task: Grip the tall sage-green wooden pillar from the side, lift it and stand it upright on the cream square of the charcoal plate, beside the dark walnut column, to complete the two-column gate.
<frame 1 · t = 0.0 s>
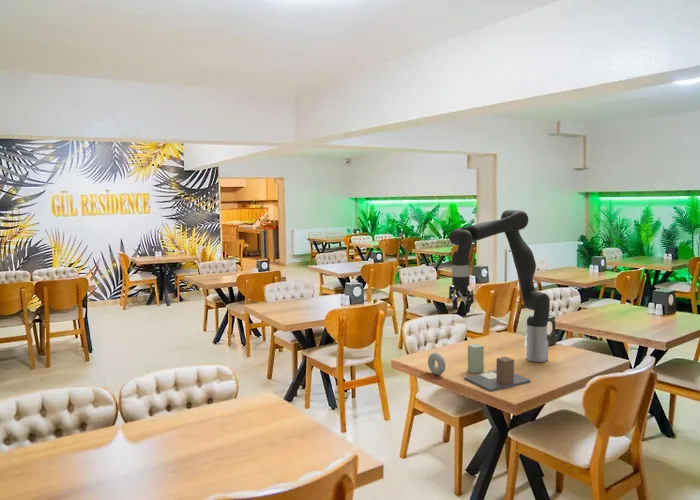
hand: (460, 311, 237), 29 cm above the table, tool pointing down, fingers open, 8 cm apart
green pillar: (475, 371, 244), on the table
build plate: (497, 380, 231), on the table
donut: (436, 374, 241), on the table
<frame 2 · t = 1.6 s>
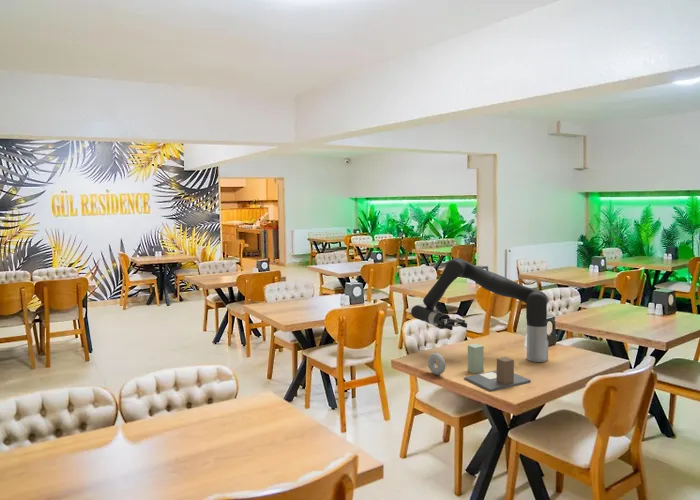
hand: (459, 326, 253), 18 cm above the table, tool horizontal, fingers open, 8 cm apart
nothing on the table moved.
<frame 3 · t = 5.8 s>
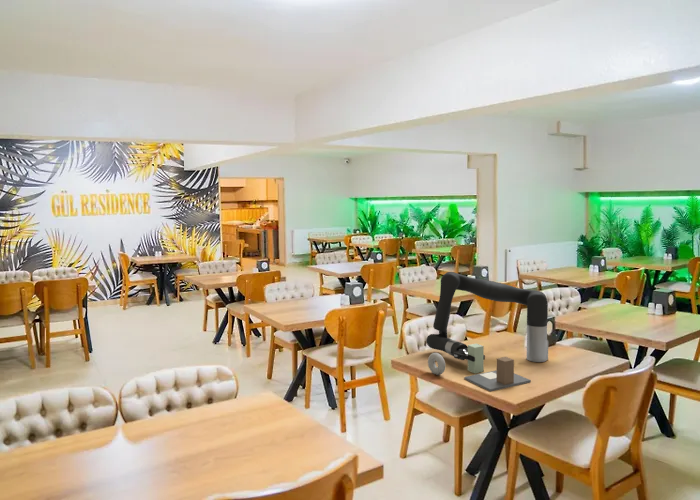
hand: (479, 358, 241), 7 cm above the table, tool horizontal, fingers closed on green pillar, 5 cm apart
green pillar: (475, 371, 244), on the table, touching gripper
everything else where it was.
when the fingers open (9 cm above the table, at t = 10.4 s): green pillar drops 1 cm, resting on build plate.
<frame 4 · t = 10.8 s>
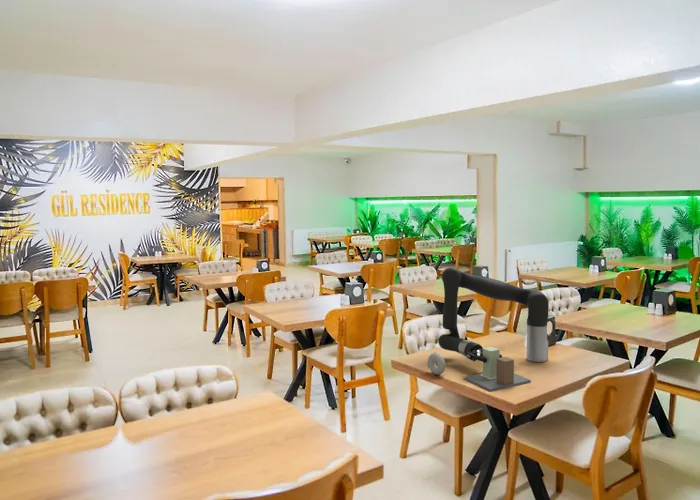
hand: (493, 359, 232), 9 cm above the table, tool horizontal, fingers open, 8 cm apart
green pillar: (491, 375, 235), point 1 cm above the table, touching build plate
everything else where it was.
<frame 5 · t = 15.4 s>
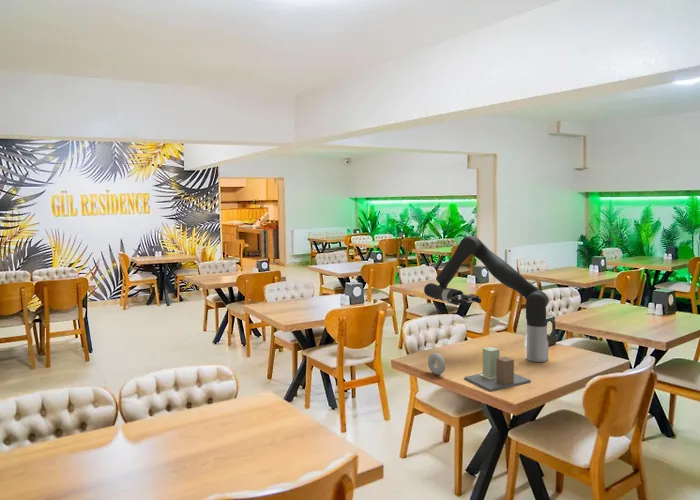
hand: (473, 301, 252), 30 cm above the table, tool horizontal, fingers open, 8 cm apart
nothing on the table moved.
at the end: green pillar 0.0 cm from the target spot on the build plate, point 1.1 cm above the build plate's base; green pillar tilted 0°; the gripper is holding nothing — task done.
